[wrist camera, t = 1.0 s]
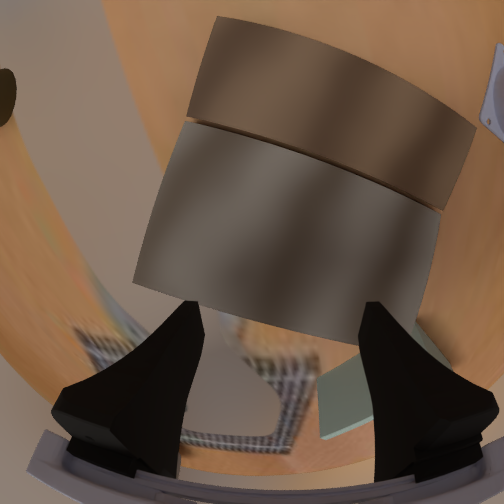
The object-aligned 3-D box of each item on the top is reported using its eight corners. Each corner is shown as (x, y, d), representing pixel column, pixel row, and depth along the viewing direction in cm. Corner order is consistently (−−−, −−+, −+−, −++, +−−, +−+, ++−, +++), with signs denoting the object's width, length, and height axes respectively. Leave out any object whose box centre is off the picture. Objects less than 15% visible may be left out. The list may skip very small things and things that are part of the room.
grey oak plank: (428, 216, 18) (441, 214, 17) (393, 347, 18) (403, 354, 17) (188, 130, 17) (185, 120, 16) (140, 279, 17) (132, 282, 16)
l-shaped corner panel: (316, 377, 28) (320, 437, 22) (411, 316, 24) (437, 378, 17) (371, 408, 32) (379, 456, 25) (449, 362, 27) (468, 410, 20)
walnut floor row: (465, 124, 15) (476, 127, 13) (433, 203, 18) (442, 210, 17) (221, 22, 14) (217, 16, 12) (193, 114, 17) (186, 116, 16)
